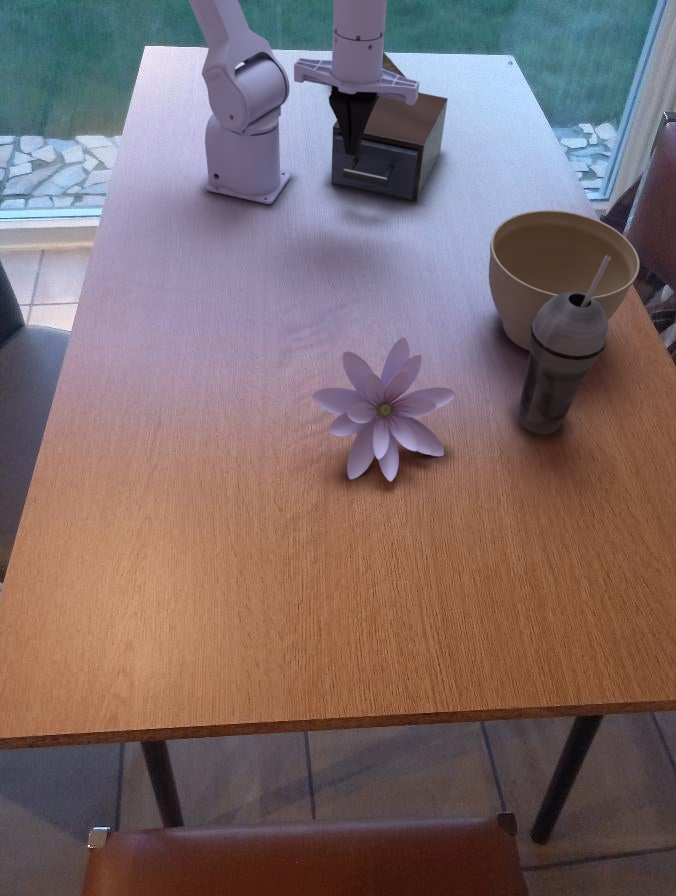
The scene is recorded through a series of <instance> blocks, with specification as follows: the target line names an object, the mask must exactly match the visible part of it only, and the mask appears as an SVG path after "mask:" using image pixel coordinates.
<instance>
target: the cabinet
mask: <svg viewBox="0 0 676 896" xmlns="http://www.w3.org/2000/svg"><path fill="white" fill-rule="evenodd" d="M447 106H448V97H444V96H437V95H433V94H429V93H423V92H420V93H418V99H417V100H416V102H415V104H414V105H408V104H406V103H405V101H402V100H397V99H392V98H387V97H382V96H379V98H378V100H377V102H376V104H375V106H374V108H373V110H372V112H371V115H370V117H369V119H368V122H367V124H366V127H365V130H364V133H363V137H362V138H364V139H369V140H373V141H378V142H383V143H388V144H393V145H397V146H402V147H407V148H412V149H417V150H418V151H419V153H418V161H417V170H416V178H415V186H414V195H413V197H412V199H406V198H402V197H397V196H393V195H388V194H383V193H379V192H374V191H370V190H365V189H360V188H356V187H351V186H347V185H342V184H337V183H333V161H334V138H335V136H336V135H337V134H339V135H342V134H341V130H340V127H339V124H338V121H337V120H336V121H335V123H333V125H332V141H331V142H332V144H331V175H330V176H331V178H330V183H331V184H332V185H335V186H336V185H337V186H340V187H345V188H350V189H355V190H360V191H363V192H369V193H374V194H377V195H383V196H387V197H392V198H396V199H401V200H406V201H409V202H416V203H418V202H419V199H420V196H421V195H422V193H423V190H424V188H425V186H426V184H427V182H428V180H429V178H430V176H431V173H432V171H433V169H434V167H435V165H436V163H437V160H438V159H439V157H440V154H441V149H442V142H443V136H444V135H443V134H444V127H445V120H446V113H447Z"/></svg>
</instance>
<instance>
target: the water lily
mask: <svg viewBox="0 0 676 896" xmlns="http://www.w3.org/2000/svg"><path fill="white" fill-rule="evenodd" d="M342 366H343V369H344V373H345V375H346V377H347V379H348V380H349V382H350V384H351V385H352V387H353V389H350V388H346V387H345V388H344V387H338V386H337V387H335V386H334V387H333V386H332V387H327V388H326V387H325V388H321V389H319V390H316V391H315V392H313V393H312V394H311V398H312V400H313V401H314V402H315V404H316V405H318V406H319V408H321V409H323V410H324V411H327V412H329V413H332V414H334V415H338V416H336V418H335V419H334V420H333V421H331V424H330V425H329V426H328V432H329V434H330V435H333V436H336V437H351V436H352V435H355V434H356V436H355V438H354V440H353V442H352V445H351V447H350V451H349V453H348V458H347V465H346V472H347V477H348V479H349V480H356V479H357V478H359V477H360V476H362V475H363V474H364V473H365V472H366V471H367V469H368V468H369V467H370V465H371V464H372V462H373V460H374V459H375V458H376V459H377V460H378V464H379V467H380V469H381V472H382V474H383V476H384V477H385V478H386V480H387V481H388V482H390V483H391V482H393V480H394V479H395V478H396V475H397V473H398V469H399V465H400V464H399V462H400V456H399V447H398V443H399V444H400V445H401V446H402V447H404V448H405V449H407V450H410V451H412V452H418V453H420V454H424V455H430V456H432V457H443V456H444V455H445V449H444V447H443V444H442V442H441V441H440V439H439V438H438V436H437V435H436V434H435V433H434V432H433V431H432V430H431V428H429V427H428V426H426V425H425V424H424V423H423V422H421V421H419V420H418V419H416V418H424V417H426V416H429V415H431V414H432V413H433V412H434V411H435V410H437V409H440V408H442V407H444V406H446V405H447V404H448V403H450V402H451V401H452V400H453V399H454V398H455V396H456V394H457V392H456V391H455V390H453V389H452V388H448V387H444V386H443V387H442V386H432V387H426V388H422V389H418V390H414V391H411V392H409V393H407V394H405V393H406V392H407V391H408V390H409V389H410V388H411V387H412V385H413V383H414V382H415V381H416V379H417V377H418V375H419V373H420V370H421V367H422V356H421V354H416V355H413V356H412V357H410V347H409V343H408V340H407V338H406V337H405V336H401V337H400V338H399V339H398V340H397V341H395V343H394V344H393V346H392V347H391V349H390V350H389V352H388V354H387V356H386V359H385V362H384V364H383V368H382V371H381V375H380V377H379V376H378V374H376V373H375V372H374V371H373V369H372V368H371V366H370V365H369V363H367V361H365V359H364V358H362V357H361V356H360V355H359V354H357V353H354V352H352V351H349V350H347V351H346V350H345V351H343V352H342ZM404 394H405V395H404Z"/></svg>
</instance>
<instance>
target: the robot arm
mask: <svg viewBox="0 0 676 896" xmlns="http://www.w3.org/2000/svg"><path fill="white" fill-rule="evenodd" d="M187 1H188V3H189V6H190V7H191V10H192V12H193V15H194V17H195V20H196V22H197V24H198V27H199V29H200V31H201V33H202V36H203V37H204V38H203V39H204V41H205V44H206V45H207V48H208V49H207V53H206V57H205V60H204V63H203V67H202V69H201V76H202V79H203V81H204V83H205V85H206V90H207V96H208V104H209V107H210V110H211V111H212V114H211V115H210V117H209V119H208V120H207V123H206V127H205V133H204V148H205V158H206V167H207V177H208V184H207V186H206V189H207V191H208V192H212V193H216V194H221V195H225V196H230V197H235V198H239V199H244V200H248V201H253V202H257V203H261V204H266V205H272V204H274V202H275V201H276V199H277V197H278V196H279V195H280V193H281V191H282V190H283V189H284V187H285V185H287V183H288V182H289V180H290V179H291V174H290V173H288V172H284V171H281V156H280V154H281V151H280V150H281V149H280V117H281V116H282V106H283V105H284V104H285V103H286V102H287V101H288V98H289V96H290V89H291V88H290V81H289V77H288V74H287V71H286V70H285V68H284V67H283V65H282V63H281V62H280V61H279V60H278V58H277V57H276V56H275V54H274V53H273V50H272V47H271V46H270V43H269V41H268V40H267V39H265V38H264V37H262V36H261V35H259V34H257V33H255V32H254V31H253V30H251V29H250V28H249V24H248V21H247V19H246V17H245V15H244V12H243V10H242V7H241V5H240V2H239V0H187ZM387 6H388V0H333V10H332V16H333V17H332V44H331V45H332V46H331V47H332V48H331V59H312V58H311V59H310V58H304V57H299V58H298V59H297V60H296V61H295V63H293V81H294V82H295V83H300V84H302V83H304V82H307V83H313V84H319V85H323V86H327V87H331V90H330V94H329V96H328V103H329V106H330V109H331V110H332V112H333V114H334V116H335V119H336V121H338V124H339V127H340V130H341V134H342V138H343V143H344V149H345V154H348V155H353V156H356V155H357V153H358V151H359V150H360V146H361V141H362V137H363V133H364V130H365V127H366V124H367V122H368V119H369V117H370V115H371V112H372V110H373V108H374V106H375V104H376V102H377V100H378V98H379V96H382V97H387V98H392V99H397V100H402V101H405V103H406V104H408V105H414V104H415V102H416V100H417V99H418V92H420V90H419V89H420V81H419V80H415V79H411V78H407V77H406V76H405V77H406V78H405V77H402V76H400V75H397V74H395V73H392V72H390V71H387V70H384V69H382V59H383V52H384V47H385V45H384V44H385V33H386V32H385V31H386V21H387V20H386V17H387V8H388V7H387ZM241 63H243V64H242V65H240V66H238V65H239V64H241Z"/></svg>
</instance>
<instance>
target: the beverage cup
mask: <svg viewBox="0 0 676 896" xmlns="http://www.w3.org/2000/svg"><path fill="white" fill-rule="evenodd" d="M609 261H610V257H609V256H605V258H604V260H603V262H602V264H601V266H600V268H599V270H598V272H597V274H596V276H595V278H594V281H593V283H592V285H591V287H590V289H589V291H588V293H587V294H585V293H581V292H574V291H572V292H565V293H561V294H559V295H556V296H554V297H553V298H551V299H550V300H549V301H548V302H547V303H545V304H544V305H543V306H542V307H541V309H540V310H539V312H538V314H537V316H536V318H535V319H534V320H533V323H532V325H531V338H530V351H529V353H528V359H527V360H528V361H527V365H526V370H525V375H524V379H523V380H524V381H523V385H522V390H521V397H520V402H519V413H518V421H519V422H520V424H521V426H522V427H523V428H524V429H526V430H527V431H529V432H531V433H534V434H537V435H550V434H552V433H554V432H555V433H556V431H557V430H558V429H559V427H560V425H561V424H562V422H563V420H564V419H565V418H566V415H568V412H569V410H570V408H571V406H572V404H573V403H574V400H575V398H576V396H577V394H578V393H579V391H580V389H581V386H582V384H583V382H584V380H585V378H586V377H587V374H588V373H589V371H590V369H591V367H592V366H593V365H594V364H595V362H596V361H597V359H598V358H599V357H600V355H601V353H602V352H603V351H604V350H605V348H606V344H607V337H608V336H607V335H608V332H609V331H608V330H609V328H608V321H607V319H606V315H605V312H604V310H603V308H602V307H601V305H600V304H599V303H598V302H597V301H596V300H595V299H594V298H593V297H592V295H593V293H594V291H595V289H596V287H597V285H598V283H599V281H600V279H601V277H602V275H603V273H604V271H605V269H606V267H607V265H608V263H609Z"/></svg>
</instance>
